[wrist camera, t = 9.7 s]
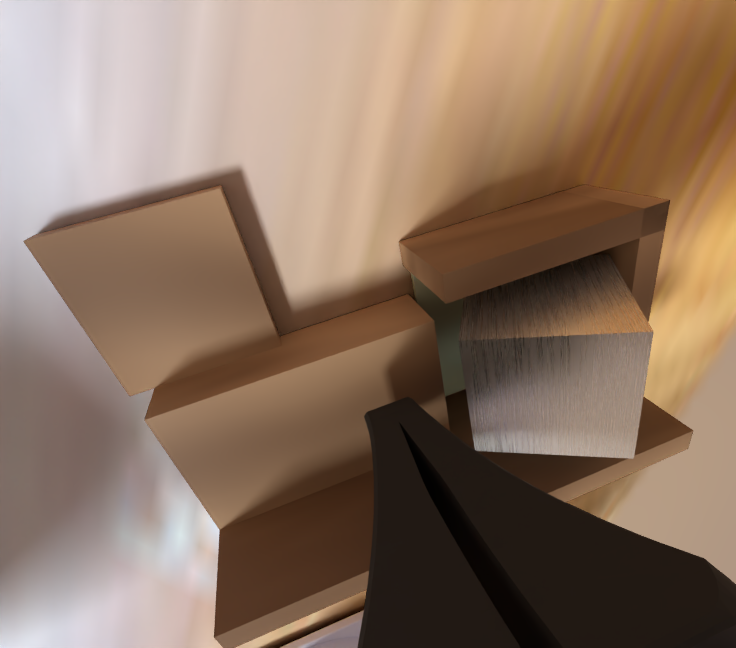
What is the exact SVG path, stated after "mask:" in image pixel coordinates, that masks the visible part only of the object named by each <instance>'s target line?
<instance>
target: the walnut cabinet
mask: <svg viewBox="0 0 736 648" xmlns="http://www.w3.org/2000/svg"><path fill="white" fill-rule="evenodd" d="M669 203H670V200H667V199H661V198H656V197H650V196H645V195H639V194H633V193H628V192H622V191H617V190H611V189H605V188H600V187H594V186H589V185H581V186H578V187H574V188H571V189H568V190H565V191H561V192H558V193H555V194H552V195H548V196H545V197H542V198H539V199H535V200H532V201H529V202H526V203H523V204H519V205H516V206H513V207H510V208H506V209H503V210H500V211H497V212H493V213H490V214H487V215H484V216H480V217H477V218H474V219H471V220H467V221H464V222H461V223H458V224H454V225H451V226H448V227H445V228H441V229H438V230H435V231H432V232H428V233H425V234H422V235H419V236H415V237H412V238H409V239H406V240H402V241H399V246H400V251H401V257H402V262H403V266H404V267H405V268H406V269H407V270H408V271H410V273H411V279H412V285H413V290H414V296H415V301H414V300H413V298H412V297H411V296H410V295H409V294H407V295H404V296H401V297H398V298H394V299H391V300H388V301H385V302H382V303H379V304H376V305H373V306H370V307H367V308H364V309H361V310H358V311H355V312H352V313H349V314H346V315H343V316H340V317H337V318H334V319H331V320H328V321H325V322H322V323H319V324H316V325H313V326H310V327H307V328H304V329H300V330H297V331H294V332H291V333H288V334H285V335H282V336H280V335H279V333H278V330H277V328H276V325H275V323H274V320H273V317H272V315H271V312H270V310H269V307H268V304H267V302H266V299H265V297H264V294H263V292H262V289H261V286H260V284H259V281H258V279H257V276H256V274H255V271H254V268H253V266H252V263H251V261H250V258H249V255H248V253H247V250H246V248H245V245H244V243H243V240H242V237H241V235H240V232H239V230H238V227H237V225H236V222H235V219H234V217H233V214H232V212H231V209H230V206H229V204H228V201H227V199H226V196H225V194H224V191H223V188H222V186H221V185H219V186H215V187H212V188H208V189H204V190H200V191H197V192H193V193H189V194H186V195H182V196H178V197H174V198H171V199H167V200H163V201H159V202H156V203H152V204H148V205H144V206H141V207H137V208H133V209H129V210H126V211H122V212H118V213H114V214H111V215H107V216H103V217H100V218H96V219H92V220H88V221H85V222H81V223H77V224H73V225H70V226H66V227H62V228H58V229H55V230H51V231H47V232H43V233H40V234H36V235H34V236H32V237H30V238H28V239H27V240H25V241H24V243H25V244H26V246H27V247H28V249H29V250H30V252H31V253H32V255H33V256H34V257H35V259H36V260H37V262H38V263H39V265H40V266H41V268H42V269H43V271H44V272H45V274H46V275H47V276H48V278H49V279H50V281H51V282H52V284H53V285H54V287H55V288H56V290H57V291H58V293H59V294H60V295H61V297H62V298H63V300H64V301H65V303H66V304H67V306H68V307H69V309H70V310H71V312H72V313H73V314H74V316H75V317H76V319H77V320H78V322H79V323H80V325H81V326H82V328H83V329H84V331H85V332H86V334H87V335H88V336H89V338H90V339H91V341H92V342H93V344H94V345H95V347H96V348H97V350H98V351H99V353H100V354H101V355H102V357H103V358H104V360H105V361H106V363H107V364H108V366H109V367H110V369H111V370H112V372H113V373H114V374H115V376H116V377H117V379H118V380H119V382H120V383H121V385H122V386H123V388H124V389H125V391H126V392H127V393H128V395H129V396H132V395H135V394H138V393H141V392H144V391H147V390H150V389H153V388H155V389H154V392H153V395H152V398H151V401H150V404H149V407H148V410H147V413H146V417H145V422H146V423H147V425H148V426H149V428H150V429H151V431H152V432H153V433H154V435H155V436H156V438H157V439H158V441H159V442H160V444H161V445H162V447H163V448H164V449H165V451H166V452H167V454H168V455H169V457H170V458H171V460H172V461H173V463H174V464H175V465H176V467H177V468H178V470H179V471H180V473H181V474H182V476H183V477H184V479H185V480H186V482H187V483H188V484H189V486H190V487H191V489H192V490H193V492H194V493H195V495H196V496H197V498H198V499H199V500H200V502H201V503H202V505H203V506H204V508H205V509H206V511H207V512H208V514H209V515H210V517H211V518H212V519H213V521H214V522H215V524H216V525H217V527H218V528H219V530H220V535H219V554H218V572H217V591H216V610H215V628H214V638H215V639H216V640H217V641H218V642H219V644H220V645H221V646H222V647H223V648H235V647H237V646H239V645H242V644H244V643H246V642H249V641H251V640H253V639H255V638H258V637H260V636H262V635H265V634H267V633H269V632H271V631H274V630H276V629H278V628H280V627H283V626H285V625H287V624H290V623H292V622H294V621H296V620H299V619H301V618H303V617H306V616H308V615H310V614H312V613H315V612H317V611H319V610H322V609H324V608H326V607H328V606H331V605H333V604H335V603H337V602H340V601H342V600H344V599H347V598H349V597H351V596H353V595H356V594H358V593H360V592H363V591H365V590H367V585H368V576H369V567H370V558H371V547H372V534H373V515H374V475H373V460H372V449H371V441H370V435H369V432H368V428H367V425H366V422H365V418H364V415H365V414H366V412H368V411H370V410H373V409H376V408H379V407H381V406H384V405H387V404H389V403H392V402H395V401H397V400H400V399H403V398H405V397H410V398H412V399H413V400H414V401H415V402H416V403H417V404H418V405H419V406H420V407H422V408H423V409H424V410H425V411H426V412H427V413H428V414H429V415H431V416H432V417H433V418H434V419H435V420H437V421H438V422H439V423H440V424H441V425H443V426H444V427H445V428H446V429H448V430H449V431H450V432H452V433H453V434H454V435H456V436H457V437H458V438H460V439H461V440H462V441H464V442H465V443H466V444H468V445H469V446H471V447H472V448H473V449H475V448H474V441H473V434H472V428H471V421H470V414H469V408H468V401H467V395H466V388H465V381H464V375H463V368H462V361H461V355H460V348H459V341H458V340H459V332H460V324H461V316H462V308H463V300H464V297H467V296H470V295H473V294H476V293H479V292H482V291H485V290H488V289H491V288H494V287H497V286H500V285H503V284H506V283H509V282H512V281H515V280H518V279H521V278H523V277H526V276H529V275H532V274H535V273H538V272H541V271H544V270H547V269H550V268H553V267H556V266H559V265H562V264H565V263H568V262H571V261H574V260H577V259H580V258H583V257H585V256H593V255H602V254H609V255H610V257H611V259H612V260H613V262H614V264H615V266H616V267H617V269H618V271H619V273H620V274H621V276H622V278H623V280H624V281H625V283H626V285H627V286H628V288H629V290H630V292H631V293H632V295H633V297H634V299H635V300H636V302H637V304H638V306H639V307H640V309H641V311H642V313H643V314H644V316H645V318H646V320H647V321H649V316H650V310H651V304H652V299H653V293H654V288H655V282H656V276H657V271H658V265H659V259H660V254H661V248H662V243H663V237H664V231H665V226H666V220H667V214H668V209H669ZM461 390H462V391H461ZM458 391H459V392H458ZM453 393H454V394H453ZM445 396H446V397H445ZM692 434H693V430H692V429H690V428H689V427H687V426H686V425H684V424H683V423H681V422H680V421H678V420H677V419H676V418H674V417H673V416H671V415H670V414H668V413H667V412H665V411H664V410H662V409H661V408H659V407H658V406H656V405H655V404H653V403H652V402H651V401H649V400H648V399H646V398H645V397H643V403H642V409H641V416H640V422H639V429H638V435H637V442H636V448H635V455H634V459H631V458H610V457H590V456H570V455H550V454H529V453H509V452H489V451H478V452H479V453H481V454H482V455H484V456H485V457H487V458H488V459H490V460H491V461H493V462H494V463H496V464H497V465H499V466H501V467H502V468H504V469H505V470H507V471H509V472H510V473H512V474H514V475H515V476H517V477H519V478H521V479H522V480H524V481H526V482H528V483H529V484H531V485H533V486H535V487H537V488H539V489H540V490H542V491H544V492H546V493H548V494H550V495H552V496H554V497H556V498H558V499H560V500H562V501H564V502H568V501H570V500H572V499H575V498H577V497H579V496H581V495H584V494H586V493H588V492H591V491H593V490H595V489H597V488H600V487H602V486H604V485H607V484H609V483H611V482H613V481H616V480H618V479H620V478H623V477H625V476H627V475H629V474H632V473H634V472H636V471H638V470H641V469H643V468H645V467H648V466H650V465H652V464H654V463H657V462H659V461H661V460H664V459H665V458H668V457H670V456H672V455H675V454H677V453H679V452H681V451H684V450H686V449H688V447H689V444H690V440H691V436H692Z"/></svg>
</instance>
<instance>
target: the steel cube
mask: <svg viewBox="0 0 736 648" xmlns="http://www.w3.org/2000/svg"><path fill="white" fill-rule="evenodd" d="M652 338H653V330H652V328H651V327H650V325H649V323H648V321H647V320H646V318H645V316H644V314H643V313H642V311H641V309H640V307H639V306H638V304H637V302H636V300H635V299H634V297H633V295H632V293H631V292H630V290H629V288H628V286H627V285H626V283H625V281H624V280H623V278H622V276H621V274H620V273H619V271H618V269H617V267H616V266H615V264H614V262H613V260H612V259H611V257H610V255H609V254H602V255H593V256H585V257H583V258H580V259H577V260H574V261H571V262H568V263H565V264H562V265H559V266H556V267H553V268H550V269H547V270H544V271H541V272H538V273H535V274H532V275H529V276H526V277H523V278H521V279H518V280H515V281H512V282H509V283H506V284H503V285H500V286H497V287H494V288H491V289H488V290H485V291H482V292H479V293H476V294H473V295H470V296H467V297H464V300H463V308H462V316H461V324H460V332H459V340H458V341H459V348H460V355H461V361H462V368H463V375H464V381H465V388H466V395H467V401H468V408H469V414H470V421H471V428H472V434H473V441H474V448H475V450H476V451H489V452H509V453H529V454H550V455H570V456H590V457H610V458H631V459H634V455H635V448H636V442H637V435H638V429H639V422H640V416H641V409H642V403H643V396H644V390H645V383H646V377H647V370H648V364H649V357H650V351H651V344H652Z"/></svg>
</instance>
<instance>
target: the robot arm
mask: <svg viewBox="0 0 736 648" xmlns="http://www.w3.org/2000/svg"><path fill="white" fill-rule="evenodd" d="M364 418H365V422H366V425H367V428H368V432H369V435H370V441H371V449H372V460H373V475H374V515H373V534H372V547H371V558H370V567H369V576H368V585H367V592H366V599H365V606H364V610H363V611H360V612H358V613H356V614H354V615H352V616H349V617H347V618H345V619H343V620H340V621H338V622H336V623H334V624H331V625H329V626H327V627H325V628H322V629H320V630H318V631H316V632H313V633H311V634H309V635H307V636H304V637H302V638H300V639H298V640H295V641H293V642H291V643H289V644H286V645H284V646H282V647H280V648H736V584H735V583H734V582H732V581H731V580H730V579H729V578H728V577H727V576H725V575H724V574H723V573H722V572H720V571H719V570H717V569H716V568H715V567H714V566H713V565H711V564H710V563H709V562H708V561H707V560H706V559H704V558H701V557H699V556H696V555H693V554H690V553H688V552H685V551H682V550H679V549H676V548H674V547H671V546H668V545H665V544H662V543H659V542H657V541H654V540H652V539H649V538H646V537H644V536H641V535H638V534H636V533H634V532H631V531H629V530H627V529H624V528H622V527H619V526H617V525H615V524H612V523H610V522H607V521H605V520H603V519H600V518H598V517H596V516H594V515H592V514H590V513H588V512H585V511H583V510H581V509H579V508H577V507H575V506H573V505H570V504H568V503H566V502H564V501H562V500H560V499H558V498H556V497H554V496H552V495H550V494H548V493H546V492H544V491H542V490H540V489H539V488H537V487H535V486H533V485H531V484H529V483H528V482H526V481H524V480H522V479H521V478H519V477H517V476H515V475H514V474H512V473H510V472H509V471H507V470H505V469H504V468H502V467H501V466H499V465H497V464H496V463H494V462H493V461H491V460H490V459H488V458H487V457H485V456H484V455H482V454H481V453H479V452H478V451H476V450H475V449H473V448H472V447H471V446H469V445H468V444H466V443H465V442H464V441H462V440H461V439H460V438H458V437H457V436H456V435H454V434H453V433H452V432H450V431H449V430H448V429H446V428H445V427H444V426H443V425H441V424H440V423H439V422H438V421H437V420H435V419H434V418H433V417H432V416H431V415H429V414H428V413H427V412H426V411H425V410H424V409H423V408H422V407H420V406H419V405H418V404H417V403H416V402H415V401H414V400H413V399H412V398H410V397H405V398H403V399H400V400H397V401H395V402H392V403H389V404H387V405H384V406H381V407H379V408H376V409H373V410H370V411H368V412H366V414H365V415H364Z"/></svg>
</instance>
